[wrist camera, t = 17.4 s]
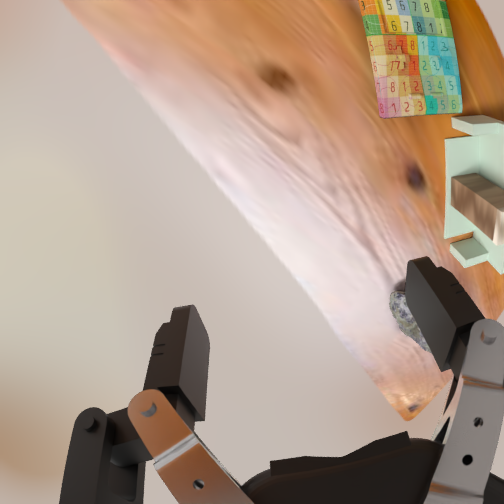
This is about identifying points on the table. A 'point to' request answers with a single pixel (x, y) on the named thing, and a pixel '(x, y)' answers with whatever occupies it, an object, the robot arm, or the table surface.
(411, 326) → the mineral rock
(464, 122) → the mint green shelf
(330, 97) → the table surface
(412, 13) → the puzzle game
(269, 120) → the table surface
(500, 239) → the brown wooden block
